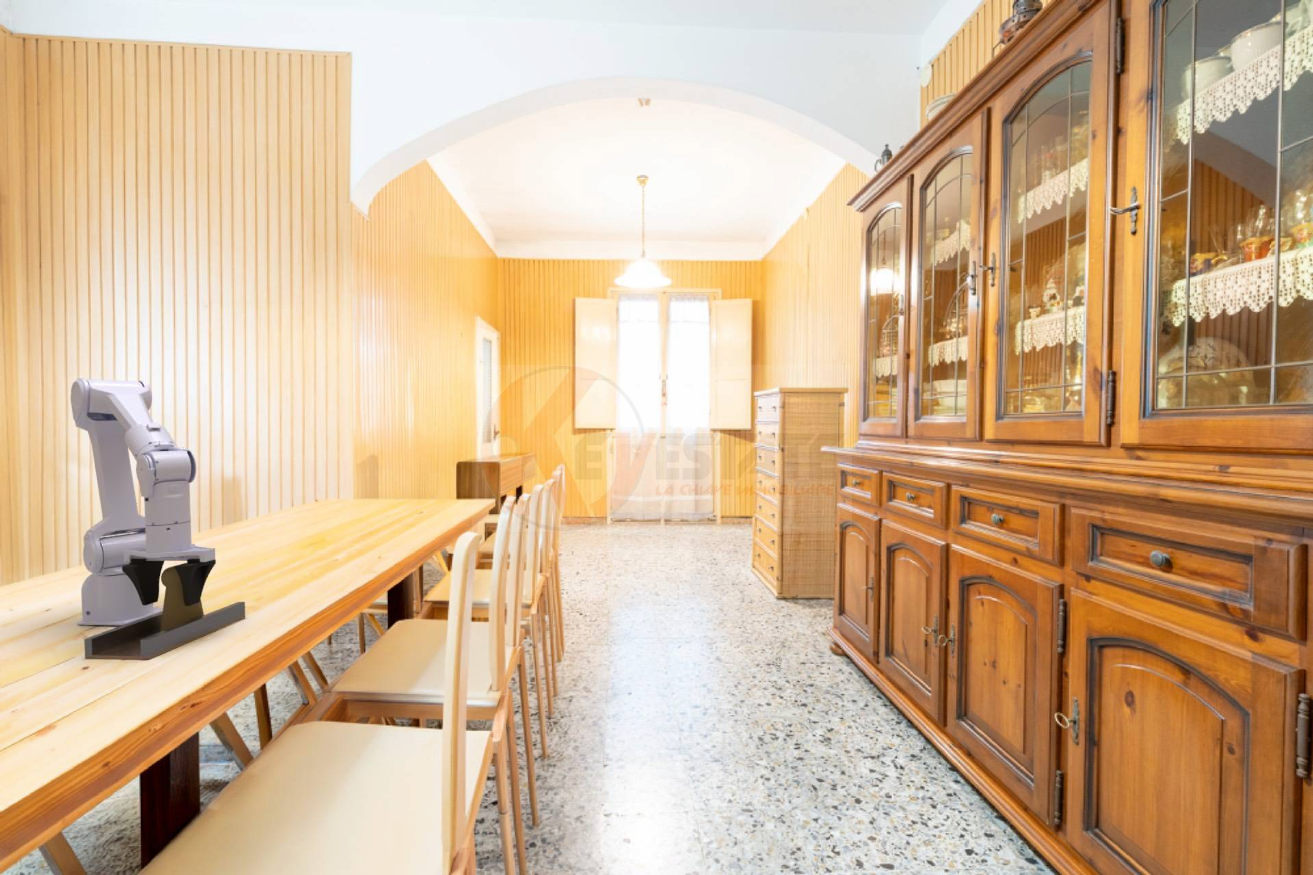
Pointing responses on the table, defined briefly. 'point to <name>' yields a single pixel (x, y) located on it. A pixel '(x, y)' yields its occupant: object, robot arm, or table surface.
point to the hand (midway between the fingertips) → (171, 603)
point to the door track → (157, 635)
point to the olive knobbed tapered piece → (176, 602)
